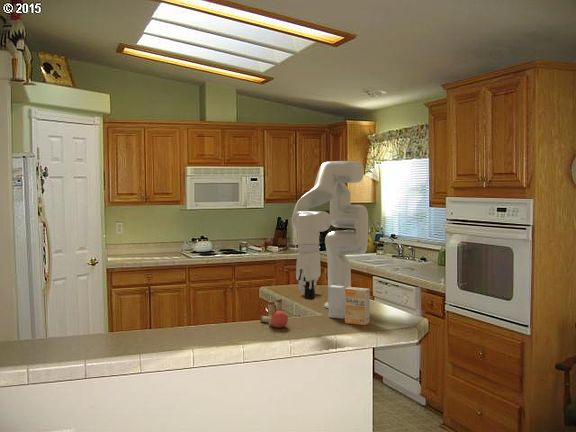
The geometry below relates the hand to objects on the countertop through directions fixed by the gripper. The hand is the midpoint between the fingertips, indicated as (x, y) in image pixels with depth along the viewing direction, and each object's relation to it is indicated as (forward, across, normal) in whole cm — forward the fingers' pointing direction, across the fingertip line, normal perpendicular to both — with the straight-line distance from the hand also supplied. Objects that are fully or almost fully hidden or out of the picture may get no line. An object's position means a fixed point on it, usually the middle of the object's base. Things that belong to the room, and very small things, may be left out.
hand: (309, 299), depth 212 cm
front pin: (+10, +1, -12) cm, 15 cm away
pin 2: (+11, -1, -14) cm, 18 cm away
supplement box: (+11, -15, +11) cm, 22 cm away
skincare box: (+12, -20, 0) cm, 23 cm away
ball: (+8, +4, -10) cm, 14 cm away
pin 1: (+11, +4, -14) cm, 18 cm away
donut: (+13, -53, -33) cm, 64 cm away
